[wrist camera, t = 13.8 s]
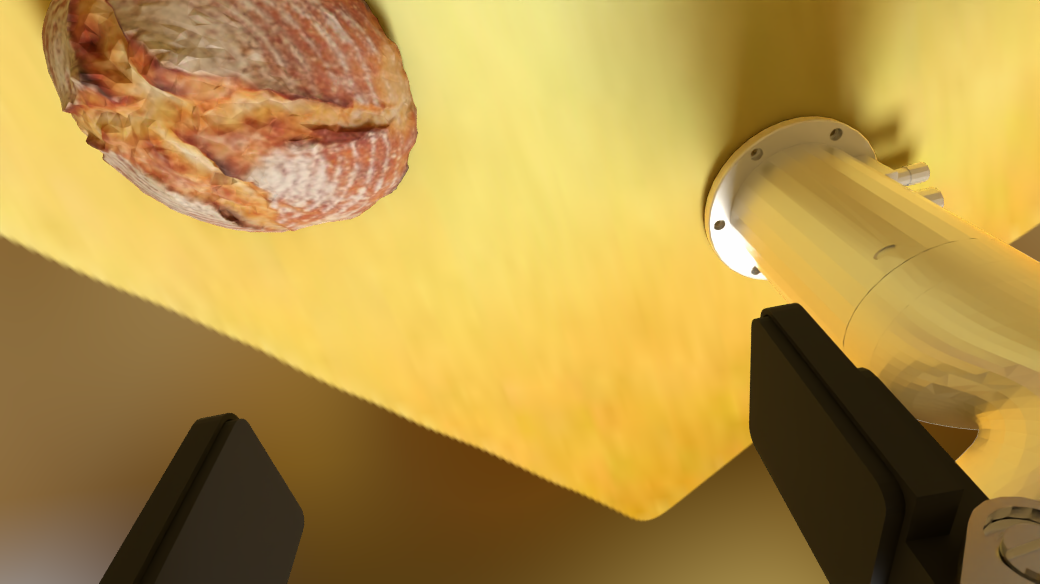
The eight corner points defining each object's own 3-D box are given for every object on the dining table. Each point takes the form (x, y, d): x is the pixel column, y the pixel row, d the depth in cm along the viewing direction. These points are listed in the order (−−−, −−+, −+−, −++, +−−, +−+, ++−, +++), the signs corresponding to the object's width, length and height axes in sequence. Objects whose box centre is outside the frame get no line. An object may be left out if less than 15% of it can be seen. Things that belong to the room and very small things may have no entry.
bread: (70, -117, 30) (-85, -156, 21) (443, -9, 34) (441, -5, 26) (93, 180, 37) (-16, 242, 28) (398, 239, 41) (385, 308, 33)
